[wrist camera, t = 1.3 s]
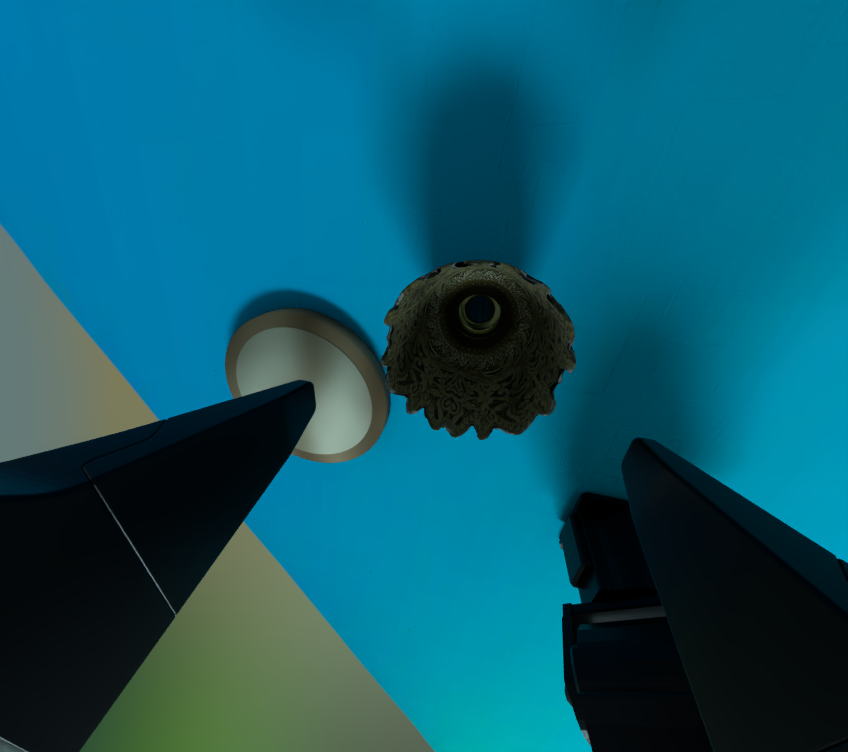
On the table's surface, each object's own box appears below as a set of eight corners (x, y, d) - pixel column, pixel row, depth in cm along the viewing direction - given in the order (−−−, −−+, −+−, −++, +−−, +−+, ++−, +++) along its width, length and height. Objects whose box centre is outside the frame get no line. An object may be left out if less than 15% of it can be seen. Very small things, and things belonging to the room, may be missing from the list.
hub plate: (392, 321, 20) (386, 327, 19) (388, 466, 26) (384, 477, 25) (219, 297, 22) (204, 301, 21) (254, 437, 28) (243, 446, 27)
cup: (436, 227, 17) (397, 234, 10) (567, 262, 16) (619, 295, 10) (410, 346, 21) (367, 411, 14) (515, 378, 20) (527, 463, 13)
